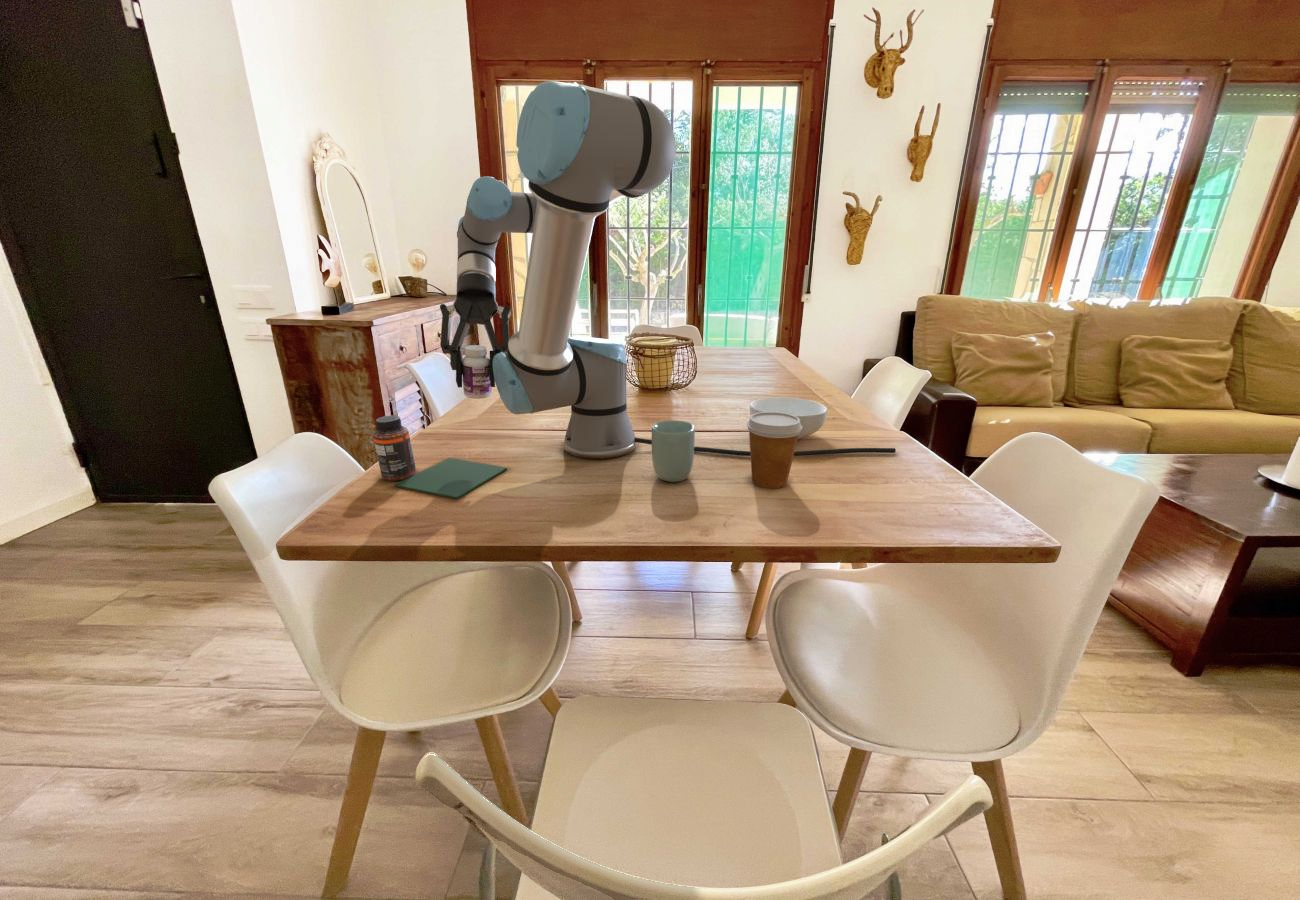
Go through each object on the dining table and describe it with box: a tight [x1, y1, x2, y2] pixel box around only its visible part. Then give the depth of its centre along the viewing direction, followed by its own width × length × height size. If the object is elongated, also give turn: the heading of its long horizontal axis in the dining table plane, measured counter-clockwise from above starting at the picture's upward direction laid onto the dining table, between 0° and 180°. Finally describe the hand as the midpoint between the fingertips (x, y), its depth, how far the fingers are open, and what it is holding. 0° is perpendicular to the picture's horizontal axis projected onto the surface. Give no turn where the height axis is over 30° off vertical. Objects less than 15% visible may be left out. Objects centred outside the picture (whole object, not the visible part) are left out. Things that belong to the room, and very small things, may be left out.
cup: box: [651, 419, 696, 483], centre depth 94 cm, size 8×8×10 cm
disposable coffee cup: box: [746, 412, 802, 489], centre depth 92 cm, size 10×10×12 cm
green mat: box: [393, 457, 508, 500], centre depth 96 cm, size 14×14×1 cm
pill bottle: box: [462, 344, 493, 400], centre depth 101 cm, size 5×5×10 cm
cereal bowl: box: [749, 396, 828, 440], centre depth 118 cm, size 17×17×7 cm
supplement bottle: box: [372, 414, 417, 482], centre depth 95 cm, size 6×6×11 cm
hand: (475, 383), depth 98 cm, fingers closed on pill bottle, 5 cm apart
